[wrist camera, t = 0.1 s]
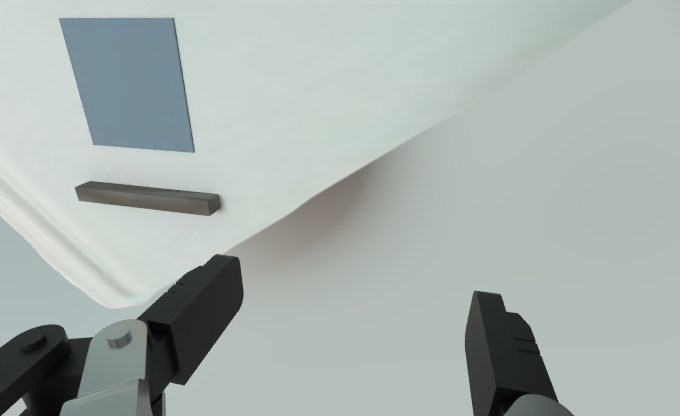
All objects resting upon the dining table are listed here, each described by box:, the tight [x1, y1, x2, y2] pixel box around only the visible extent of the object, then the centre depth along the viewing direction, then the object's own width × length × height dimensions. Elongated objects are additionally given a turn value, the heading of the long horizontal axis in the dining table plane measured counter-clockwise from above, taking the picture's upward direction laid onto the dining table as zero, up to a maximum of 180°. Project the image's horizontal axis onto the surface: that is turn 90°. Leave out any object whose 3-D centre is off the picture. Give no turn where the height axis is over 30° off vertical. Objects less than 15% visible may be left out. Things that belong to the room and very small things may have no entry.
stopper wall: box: [75, 181, 220, 216], centre depth 48 cm, size 2×20×2 cm, turn 89°
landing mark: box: [59, 18, 194, 153], centre depth 43 cm, size 15×15×1 cm
